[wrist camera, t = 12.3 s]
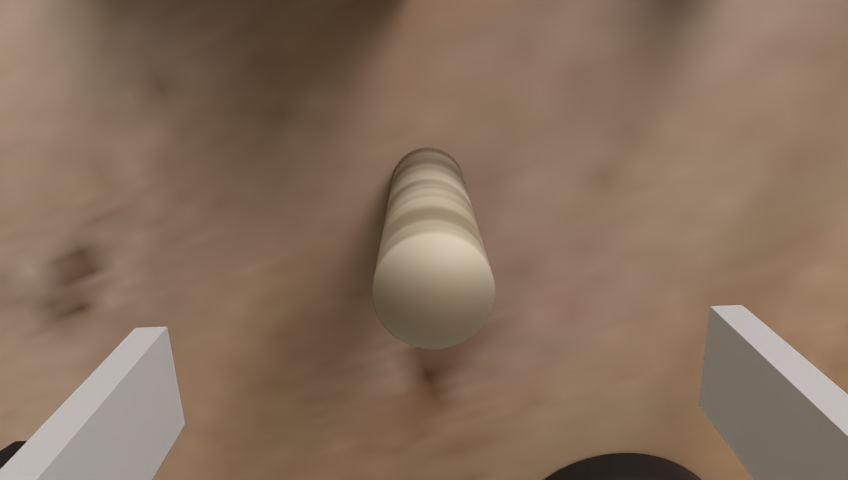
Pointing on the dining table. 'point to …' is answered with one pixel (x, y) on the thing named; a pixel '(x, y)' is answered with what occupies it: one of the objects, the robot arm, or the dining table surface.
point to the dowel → (431, 256)
